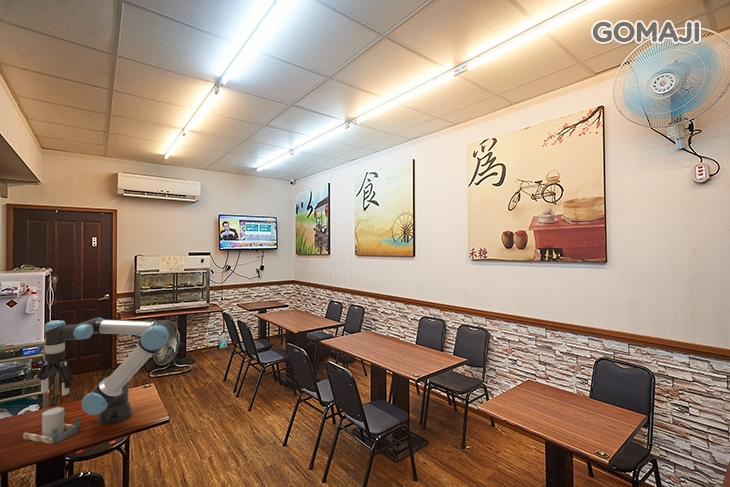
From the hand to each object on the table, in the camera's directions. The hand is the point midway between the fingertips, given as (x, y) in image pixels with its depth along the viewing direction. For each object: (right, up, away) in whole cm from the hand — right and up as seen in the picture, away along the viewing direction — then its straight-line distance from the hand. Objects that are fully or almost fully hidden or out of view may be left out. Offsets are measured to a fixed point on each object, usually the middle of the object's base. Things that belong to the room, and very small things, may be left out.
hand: (55, 393), depth 170 cm
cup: (0, -21, -1) cm, 21 cm away
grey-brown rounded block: (-11, -21, +13) cm, 27 cm away
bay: (-1, -21, -1) cm, 21 cm away
